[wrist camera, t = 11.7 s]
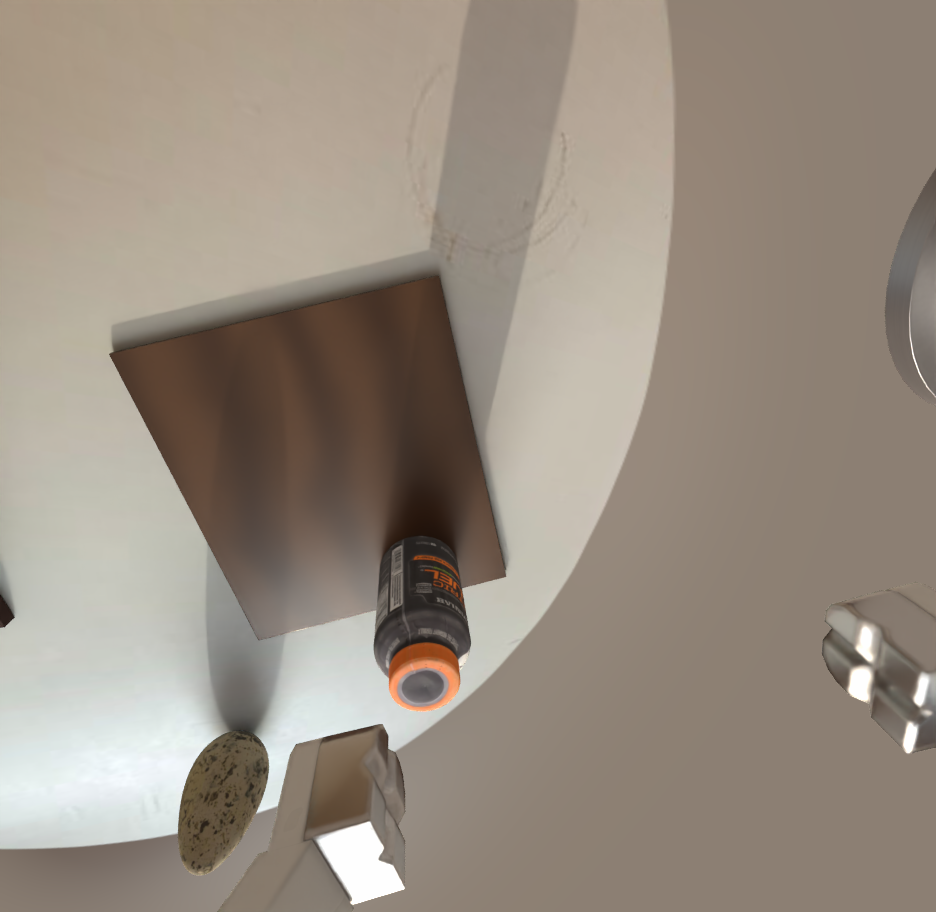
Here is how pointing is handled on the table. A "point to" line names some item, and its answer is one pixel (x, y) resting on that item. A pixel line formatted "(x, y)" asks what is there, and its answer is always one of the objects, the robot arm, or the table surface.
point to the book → (4, 613)
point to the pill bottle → (421, 623)
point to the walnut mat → (320, 448)
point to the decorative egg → (221, 799)
